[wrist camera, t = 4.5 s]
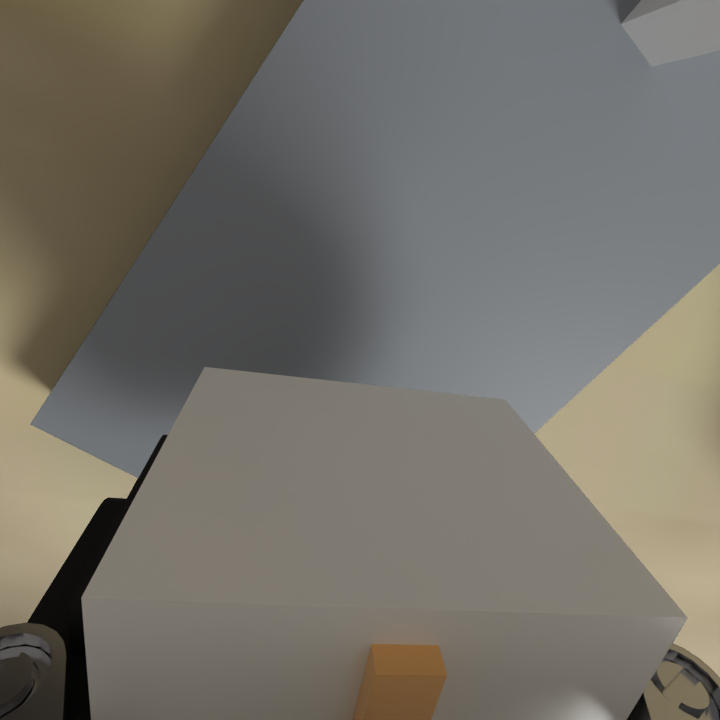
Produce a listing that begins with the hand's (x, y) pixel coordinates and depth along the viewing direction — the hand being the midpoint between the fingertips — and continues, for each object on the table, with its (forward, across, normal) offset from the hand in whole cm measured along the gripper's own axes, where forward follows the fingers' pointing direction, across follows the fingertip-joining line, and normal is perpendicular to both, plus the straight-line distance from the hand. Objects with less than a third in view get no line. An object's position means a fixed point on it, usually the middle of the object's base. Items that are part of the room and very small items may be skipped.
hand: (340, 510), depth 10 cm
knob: (0, 0, 0) cm, 0 cm away
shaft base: (+5, -3, -6) cm, 9 cm away
